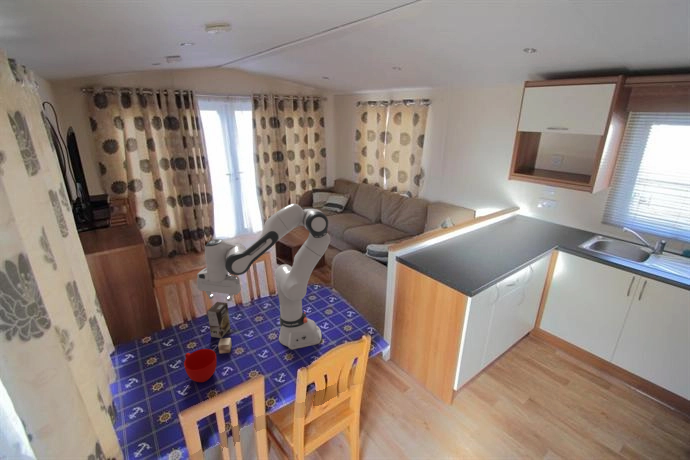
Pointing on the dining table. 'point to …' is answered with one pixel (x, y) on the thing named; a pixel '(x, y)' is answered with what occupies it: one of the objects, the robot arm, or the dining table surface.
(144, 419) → the dining table surface
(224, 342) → the maple cube
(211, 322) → the coffee box
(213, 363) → the ceramic cup
